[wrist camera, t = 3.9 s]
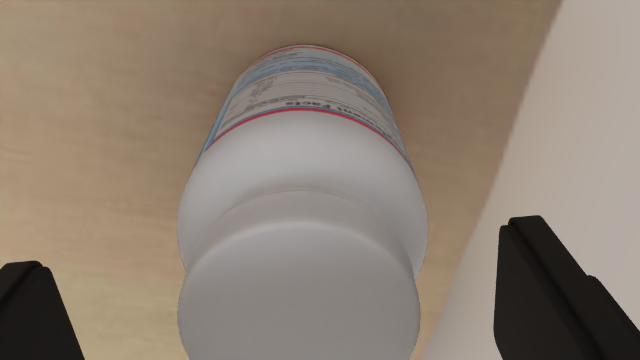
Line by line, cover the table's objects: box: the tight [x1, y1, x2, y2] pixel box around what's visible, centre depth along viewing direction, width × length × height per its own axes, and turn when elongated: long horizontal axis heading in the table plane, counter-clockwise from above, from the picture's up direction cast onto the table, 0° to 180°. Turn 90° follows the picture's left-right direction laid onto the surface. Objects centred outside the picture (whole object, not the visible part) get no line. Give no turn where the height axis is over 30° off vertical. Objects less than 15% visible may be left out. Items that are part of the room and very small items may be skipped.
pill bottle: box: [177, 45, 428, 360], centre depth 15 cm, size 6×6×11 cm
